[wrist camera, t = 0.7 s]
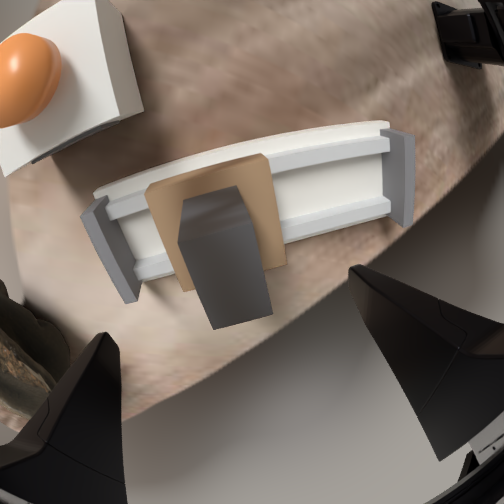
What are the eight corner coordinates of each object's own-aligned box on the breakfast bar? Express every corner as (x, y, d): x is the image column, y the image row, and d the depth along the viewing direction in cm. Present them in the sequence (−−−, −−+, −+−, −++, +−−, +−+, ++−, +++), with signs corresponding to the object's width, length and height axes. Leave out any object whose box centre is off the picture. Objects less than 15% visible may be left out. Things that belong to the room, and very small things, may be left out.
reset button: (55, 21, 6) (39, 14, 5) (69, 97, 9) (53, 98, 7) (-9, 68, 6) (-27, 68, 5) (5, 138, 8) (-14, 145, 7)
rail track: (380, 120, 18) (414, 128, 15) (384, 209, 23) (412, 230, 19) (98, 187, 18) (76, 209, 14) (137, 275, 22) (128, 309, 18)
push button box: (121, 13, 11) (92, -16, 6) (145, 113, 16) (120, 119, 11) (27, 63, 11) (-21, 61, 6) (50, 156, 15) (5, 180, 10)
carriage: (260, 152, 16) (298, 186, 10) (279, 249, 20) (313, 316, 14) (149, 183, 16) (121, 235, 10) (184, 274, 20) (182, 350, 14)
